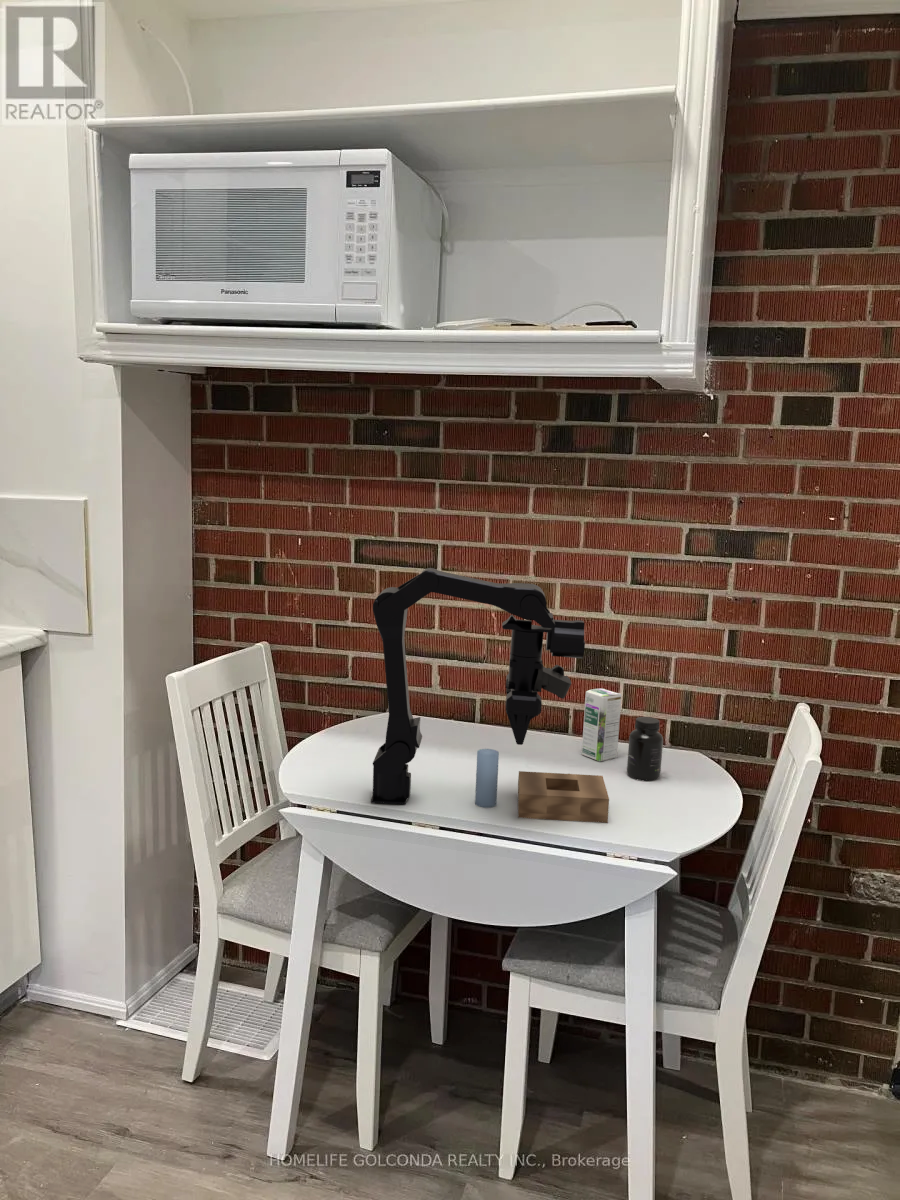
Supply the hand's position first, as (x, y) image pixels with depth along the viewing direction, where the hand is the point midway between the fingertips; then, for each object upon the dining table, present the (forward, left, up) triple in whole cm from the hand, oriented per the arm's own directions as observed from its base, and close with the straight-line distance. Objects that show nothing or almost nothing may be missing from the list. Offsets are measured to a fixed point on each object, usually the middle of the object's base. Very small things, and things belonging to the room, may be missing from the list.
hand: (519, 736), depth 175 cm
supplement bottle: (+26, +20, -14) cm, 36 cm away
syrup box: (+18, +31, -14) cm, 38 cm away
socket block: (+8, 0, -13) cm, 16 cm away
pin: (-6, 0, -13) cm, 15 cm away
